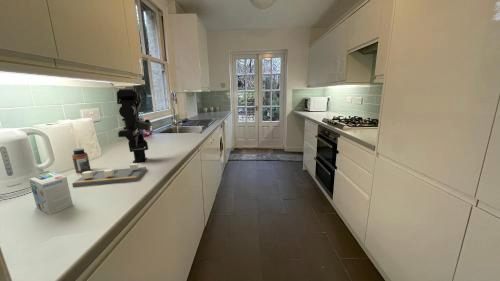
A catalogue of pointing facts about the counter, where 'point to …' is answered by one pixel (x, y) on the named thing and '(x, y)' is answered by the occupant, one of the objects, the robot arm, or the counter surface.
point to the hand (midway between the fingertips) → (135, 147)
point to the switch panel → (118, 176)
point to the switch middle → (108, 173)
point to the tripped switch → (134, 166)
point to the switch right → (87, 174)
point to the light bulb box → (51, 192)
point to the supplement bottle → (80, 160)
